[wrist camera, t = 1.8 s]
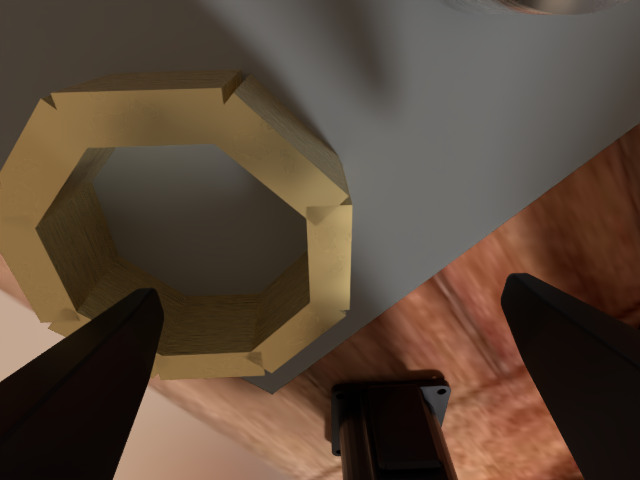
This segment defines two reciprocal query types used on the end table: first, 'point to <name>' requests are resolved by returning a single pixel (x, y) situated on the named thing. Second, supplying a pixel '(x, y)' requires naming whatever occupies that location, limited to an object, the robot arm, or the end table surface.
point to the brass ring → (124, 277)
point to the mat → (336, 128)
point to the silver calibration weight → (531, 6)
